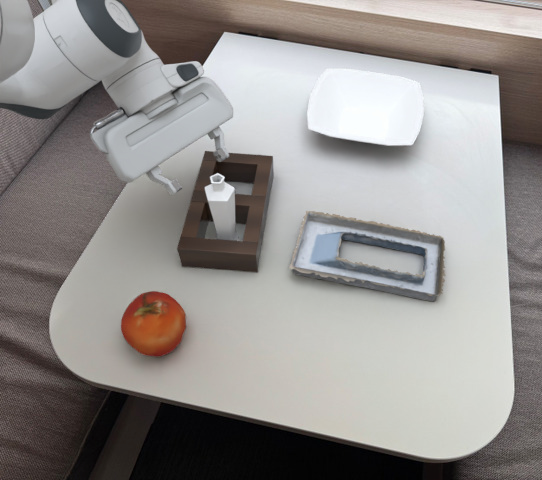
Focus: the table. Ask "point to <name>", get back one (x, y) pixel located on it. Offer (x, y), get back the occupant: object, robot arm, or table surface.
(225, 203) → the perfume bottle
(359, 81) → the bowl
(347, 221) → the picture frame
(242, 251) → the rack
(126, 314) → the tomato
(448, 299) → the table surface
